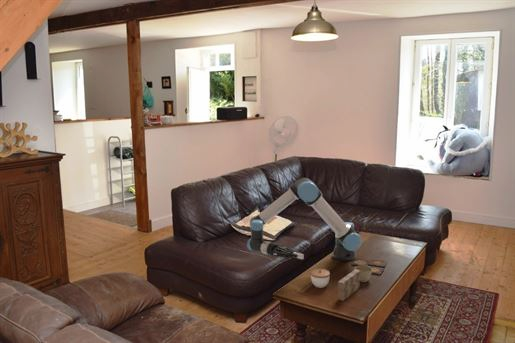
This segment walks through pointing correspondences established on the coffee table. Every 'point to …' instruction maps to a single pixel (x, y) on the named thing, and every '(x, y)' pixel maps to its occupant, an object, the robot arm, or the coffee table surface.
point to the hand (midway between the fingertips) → (303, 256)
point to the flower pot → (364, 272)
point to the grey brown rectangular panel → (348, 285)
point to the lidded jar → (320, 277)
